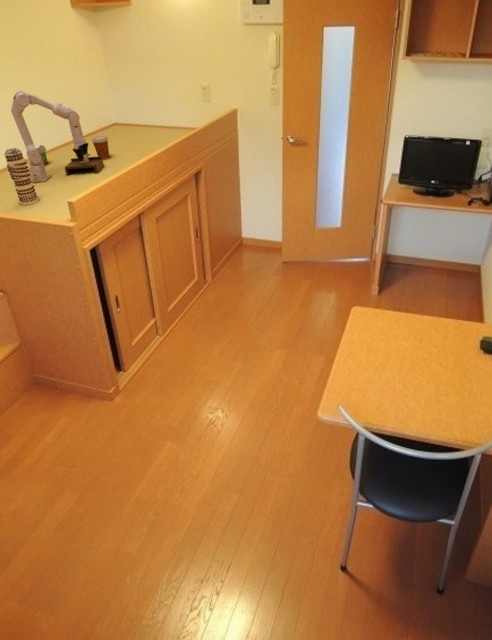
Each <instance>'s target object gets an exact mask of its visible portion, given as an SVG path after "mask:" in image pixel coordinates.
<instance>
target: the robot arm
mask: <svg viewBox="0 0 492 640" xmlns="http://www.w3.org/2000/svg"><path fill="white" fill-rule="evenodd" d="M11 103H12V104H11V108H10V112H11V115H12V118H13V119H14V123H15V124H16V127H17V129H18V132H19V134H20V137H21V139H22V141H23V144H24V146H25V147H24V148H25V149H26V157H27V158H28V160H29V162H28V165H29V167H28V170H29V172H28V173H29V174H30V179H31V182H32V183H45V182H46V181H48V180H49V178H51V175H48V173H47V170H46V169H47V168H46V165H45V166H44V163H43V161H42V158H41V155H40V154H39V152H38V151H37V150H36V148H37V147H36V145H35V143H34V140H33V138H32V136H31V133H30V130H29V128H28V126H27V122H26V120H25V118H24V115H23V113H24V111H25V109H26V108H27V107H29V105H30V106H34V105H38V106H39V107H43V108H45V109H47V110H50V111H52V114H53V115H55V116H57V117H60V118H62V119H64V120H67V121H68V123H69V129H70V132H71V137H72V140H73V148H72V152H74V154H75V156H76V155H77V157H76V158H78V159H79V161H84V157H83V152H87V154H89V153H88V151H89V142H88V141H87V140H86V138H85V137H84V132H83V130H82V126H81V122H80V119H81V118H80V117H81V116H80V115H79V114H78V112H77V111H75V110H73V109H72V108H70V107H66V106H64V105H63V104H62V103H60V102H59V103H54V104H53V103H52V102H49V101H47V100H45V99H44V98H41V97H39V96H37V95H34V94H31V93H28V92H27V93H26V92H24V91H22V90H19V91H17V92H16V93H15V94H14V96H13V98H12V102H11Z"/></svg>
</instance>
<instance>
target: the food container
mask: <svg viewBox="0 0 492 640" xmlns="http://www.w3.org/2000/svg"><path fill="white" fill-rule="evenodd" d="M38 146H39V147H35V148H36V150H37V151H38V152H39V154H40V155H41V158H42V161H43V163H44V166H45V167H46V166H47V165H48V164H49V162H48V158H47V153H46V151H47V148H46V147H45V145H43V144H42V145H41V144H40V145H38Z"/></svg>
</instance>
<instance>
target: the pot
mask: <svg viewBox="0 0 492 640" xmlns="http://www.w3.org/2000/svg"><path fill="white" fill-rule="evenodd" d="M83 157H84V161H80V163H87V162H89V158H88V157H91V154H90V153H88V154H87V152H83ZM75 158H78V157H77V155H76V154H75Z"/></svg>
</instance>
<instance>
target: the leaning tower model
mask: <svg viewBox="0 0 492 640" xmlns="http://www.w3.org/2000/svg"><path fill="white" fill-rule="evenodd" d="M3 156H4V157H5V161H6V164H7V165H6V168H7V171H8V172H9V175H10V178H11V180H12V181H13V183H14V187H15V191H16V194H17V195H18V196H17V198H18V201H19V203H20V205H23V206H24V205H26V206H27V205H31V204H35V203H37V202H38V201H39V198H38V195H37V192H36V189H35V186H34V184H33V182H31V181H32V180H31V177H30V174H29V166H28V165H27V164H28V161H26V158H25V157H24V155H23V151H22V150H20V149H19V148H17V147H12V148H7V149H6V150H5V151H4V154H3Z"/></svg>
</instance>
